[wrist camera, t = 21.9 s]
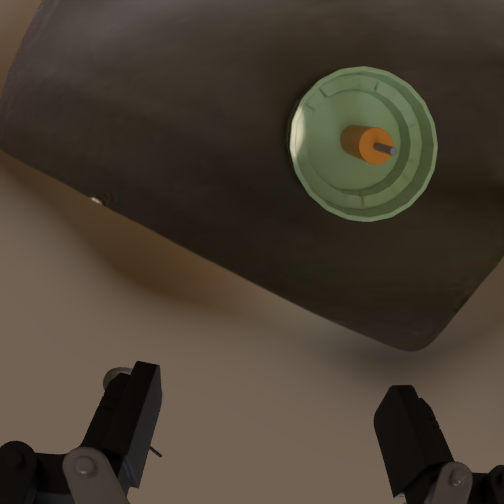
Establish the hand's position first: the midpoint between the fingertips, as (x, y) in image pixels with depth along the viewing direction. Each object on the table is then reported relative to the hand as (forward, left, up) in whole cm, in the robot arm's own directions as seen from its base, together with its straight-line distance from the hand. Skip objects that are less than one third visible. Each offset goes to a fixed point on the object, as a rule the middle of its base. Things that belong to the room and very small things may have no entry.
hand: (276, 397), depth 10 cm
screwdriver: (+4, -11, -28) cm, 30 cm away
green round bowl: (+4, -11, -28) cm, 30 cm away
